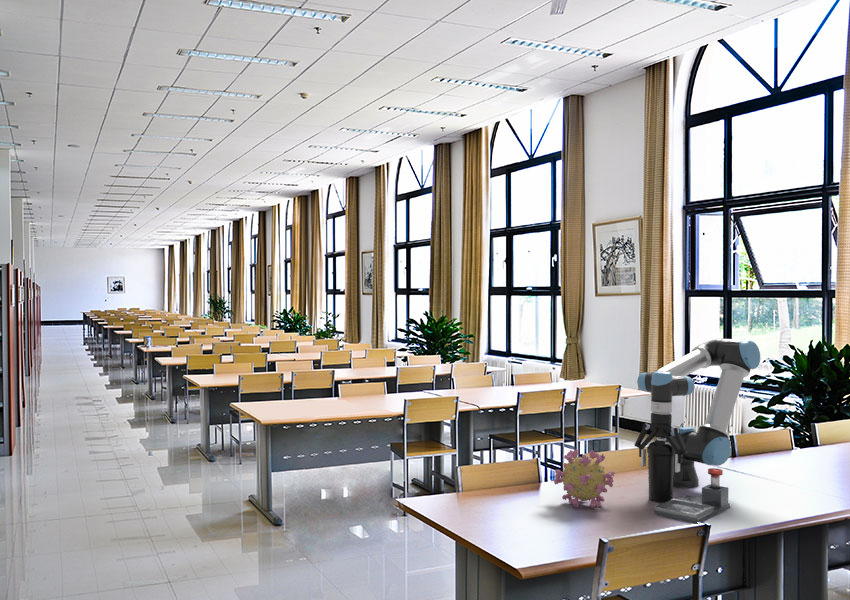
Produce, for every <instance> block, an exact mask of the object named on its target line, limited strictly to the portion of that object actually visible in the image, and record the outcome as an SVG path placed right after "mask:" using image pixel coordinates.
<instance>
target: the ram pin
mask: <svg viewBox="0 0 850 600" xmlns="http://www.w3.org/2000/svg"><path fill="white" fill-rule="evenodd" d="M707 474H708V475H710V485H711V488H712V489H718V490H719V489H720V486H721V485H720V484H721V483H720V476H723V475H724V473H723V469H721V468H714V467H712V468H708V469H707Z"/></svg>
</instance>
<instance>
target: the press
mask: <svg viewBox="0 0 850 600" xmlns="http://www.w3.org/2000/svg"><path fill="white" fill-rule="evenodd" d="M730 508H731V503H729V487H726V486H721V485H720V489H719V490H718V489H712V488H711V483H710V484H707V485H705V486H703V487H701V497H698V496H692V495H685V496H683V497H681V498H679V499H678V498H672V499H671V500H669V501H666V502H664V503H659V504H658V505H655V506H654V511H653V513H654V514H653V515H655V516H659V517H664V518H669V519H674V520H680V521H683V522H687V523H688V522H689V523H693V524H698V523H697V522H701V523H702V522H705V521H706V520H708V519H710V518H713V517H714V516H716V515H718V514H719V513H722V512H724V511H726V510H727V509H730Z"/></svg>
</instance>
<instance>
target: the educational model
mask: <svg viewBox="0 0 850 600" xmlns="http://www.w3.org/2000/svg"><path fill="white" fill-rule="evenodd" d="M586 455H587V454H584V453H582V456H579V450H578V448H577V449H575V450H572V449H570V450H569V451H568V452H567V453H566V454H565V455H564V456H563V458H564V459H566V461H568V462H564V463H563V464H562V465H563V471H561V470H560V469H555V470H554V472H555V476H554V478H555V479H553V480H552V481H553V483H554V484H555V485H559V484H561V483H562V484H563V491H564V492H565V491H566V494H563V495H562V496H561V498H562V500H564V501H567V499H568V503H569V504H573V506H572V507H574V509H578V508H579V506H580V504H579V500H580V502H586V501H589V502H590V504H589V508H592V509H594V506H595V507H596V508H599V507H600V506H601V505H602V503H604V502H605V498H604V496H603V495H601V493H608V489H607V488H606V485H607V486H609V488H613V486H614V484H613V483H614V481H615V480H614V479H613V478H614V477H615V474H616V472H615V471H613V470H610V471H609V472H608V473H606V472H605V470H604V469H605V466H602V465H601V463H602V462H603V461H604V460H605V459H606V456H605V454H604V453H603V454H599V453H598V452H596V453H595V451H594V450H593V449H591V450H590V451H588V455H589V457H588V455H587V456H586Z"/></svg>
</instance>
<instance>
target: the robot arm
mask: <svg viewBox="0 0 850 600" xmlns="http://www.w3.org/2000/svg"><path fill="white" fill-rule="evenodd" d="M760 364H761V351H760V349H759V346H758V345H757V343H756V342H755V341H753V340H748V339H745V338H744V339H742V338H741V339H737V338H715V339H712V340H708V341H706V342H704V343H701V344H698V345H696V346H695V347H694V348H693V349H691V352H689V353H687V354H685V355H683V356H682V357H680V358H677V359H676V360H674V361H672V362H669V363H668V364H666V365H664V366H662V367H660V368H658V369H656V370H655V371H652V372H641V373H640V374H639V375H638V377H637V380H636V383H637V387H638V389H639V390H640V391H642V392H647V393H651V395H650V397H651V399H650V411H651V413H650V424H649V423H647V422H646V423H642V427H641V428H642V429H641V430H640V433H639V435H638V437H637V439H636V441H635V443H634V447H637V448H638V450H639V451H638V456H639V458H640V466H641V467H646V466H647V448H646V446H647V445H649V444H650V443H651V441H652V440H653V439H654V438H665V439H667V440H666V442H668V443H670V444H671V445H672V447H673V448H674V450H675V455H674V472H673V488H674V487H676V488H687V489H688V488H694V487H695V488H696V487H698V486H699V485H700V483H699V479H700V478H699V476H698V473H697V470H696V467H695V462H696V463H699V464H704V465H707V466H714V467H715V466H717V467H719V466H721V465H724V464H725V463H726V462H727V461H728V460H729V458H730V456H731V453H732V444H731V443H732V442H731V441H730V440H729V436H730V435H729V434H728V432H727V430H728V427H729V424H730V420H731V418H732V415H733V412H734V409H735V407H736V406H735V405H736V402H737V400H738V397H739V393H740V390H741V387H742V384H743V381H744V378H746V377H749V376H750V373H751V370H755V369H757V368H758V367H759V366H760ZM714 366H715V367H716V366H717V367H719V368H720V370H721V373H720V376H719V379H718V383H717V386H716V388H715V392H714V394H713V398H712V400H711V403H710V405H709V409H708V412H707V415H706V419H705V421H704V423H703V424H701V425H699V426H698V429H697V432H696V429H695V428H694V427H690V426H676V427H672V420H673V419H672V412H673V409H672V408H673V406H672V405H673V403H672V402H673V401H672V400H673V397H682V396H683V397H686V396H689V395H691V394H693V392H694V390H695V382H694V380H693V379H692V378H691V377H690V376H688V375H690V374H691V375H692V373H695V372H696V371H698V370H700V369H707V368H709V367H714ZM648 430H650V431H651V432H650V433H649V434H648V436H647V437H646V435H647V432H648ZM645 437H646V438H645ZM644 438H645V439H644Z"/></svg>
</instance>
